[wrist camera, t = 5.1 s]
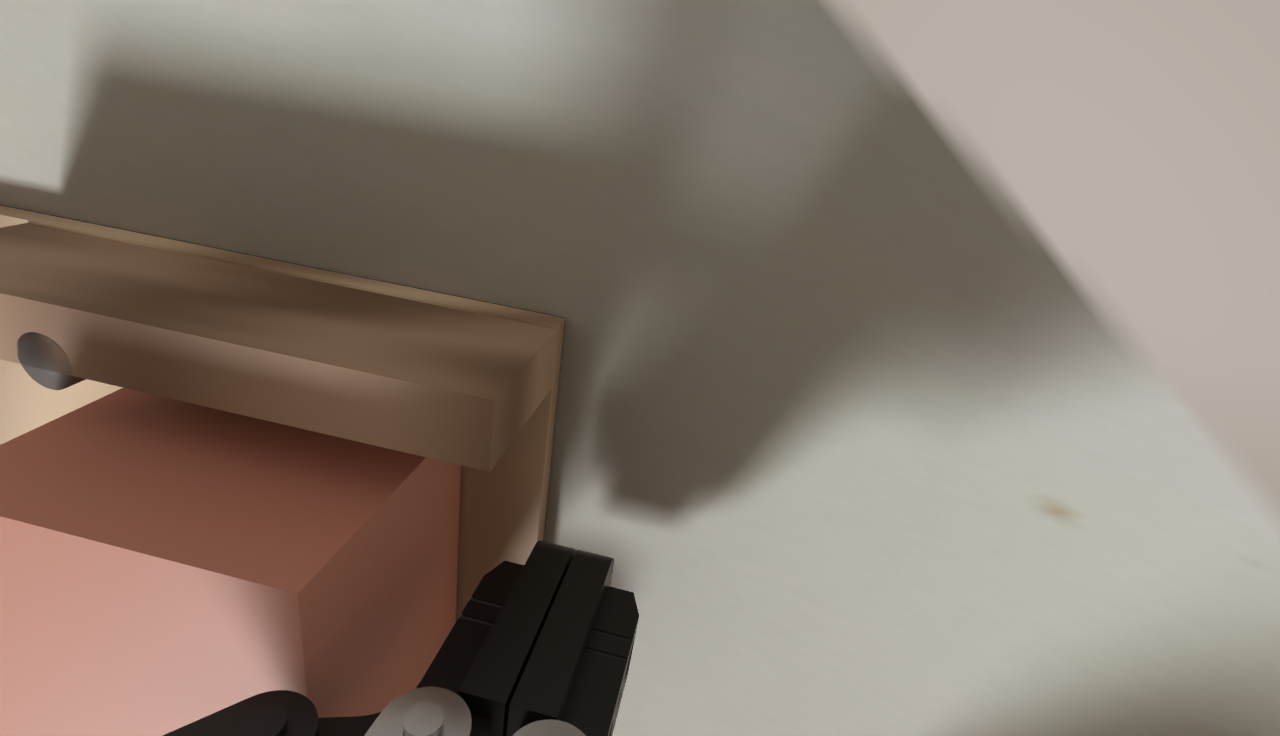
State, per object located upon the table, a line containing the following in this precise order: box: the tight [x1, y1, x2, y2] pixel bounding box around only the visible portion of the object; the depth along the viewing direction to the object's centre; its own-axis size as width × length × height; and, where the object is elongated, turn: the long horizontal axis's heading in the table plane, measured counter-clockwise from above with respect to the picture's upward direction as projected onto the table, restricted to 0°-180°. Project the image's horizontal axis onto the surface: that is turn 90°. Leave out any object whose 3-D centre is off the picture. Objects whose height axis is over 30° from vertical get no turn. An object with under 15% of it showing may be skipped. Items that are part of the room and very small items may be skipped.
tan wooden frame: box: [0, 205, 565, 621], centre depth 14 cm, size 15×10×4 cm, turn 82°
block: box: [0, 388, 461, 736], centre depth 12 cm, size 6×6×5 cm
